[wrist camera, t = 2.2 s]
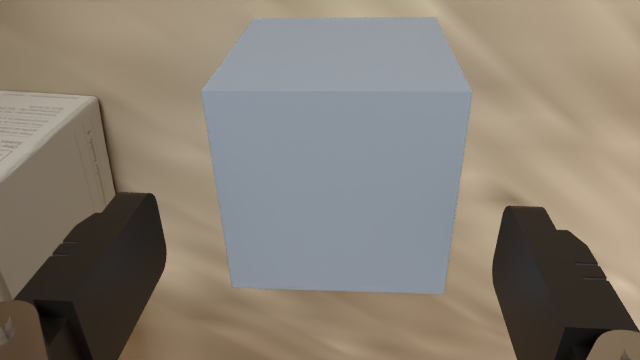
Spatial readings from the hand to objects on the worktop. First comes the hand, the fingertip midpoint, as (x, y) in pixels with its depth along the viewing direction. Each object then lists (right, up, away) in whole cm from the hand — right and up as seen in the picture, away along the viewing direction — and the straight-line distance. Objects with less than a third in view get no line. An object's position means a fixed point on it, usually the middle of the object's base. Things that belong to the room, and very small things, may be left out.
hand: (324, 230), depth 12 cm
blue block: (+1, +4, +5) cm, 6 cm away
